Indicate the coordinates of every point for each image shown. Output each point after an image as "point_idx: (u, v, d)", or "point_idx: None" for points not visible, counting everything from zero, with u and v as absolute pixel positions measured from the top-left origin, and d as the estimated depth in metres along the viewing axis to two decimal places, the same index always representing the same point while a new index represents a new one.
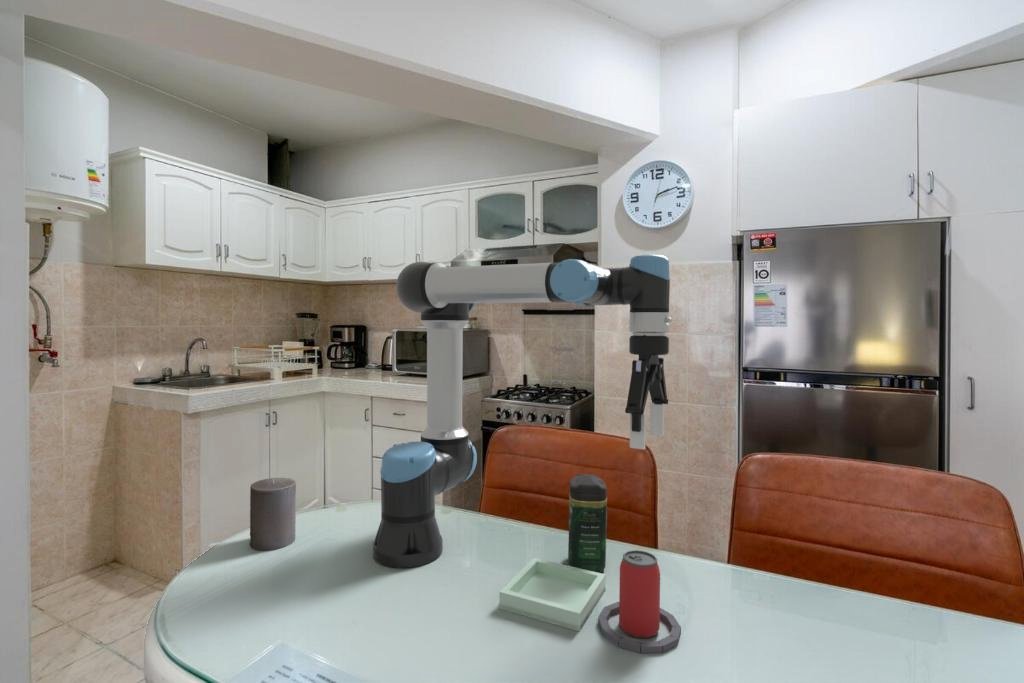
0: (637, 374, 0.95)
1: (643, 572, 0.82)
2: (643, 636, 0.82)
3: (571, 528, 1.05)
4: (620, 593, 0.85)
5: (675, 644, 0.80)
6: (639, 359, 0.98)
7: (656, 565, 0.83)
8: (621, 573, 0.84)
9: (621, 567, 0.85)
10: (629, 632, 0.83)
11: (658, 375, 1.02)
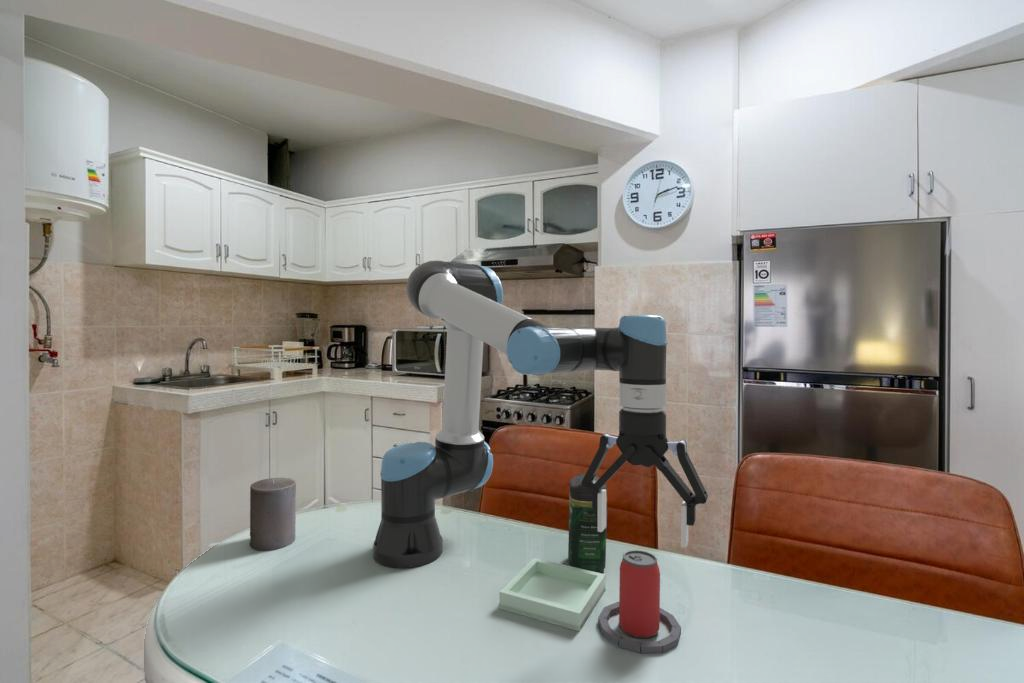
0: None
1: (643, 572, 0.82)
2: (643, 636, 0.82)
3: (571, 528, 1.05)
4: (620, 593, 0.85)
5: (675, 644, 0.80)
6: None
7: (656, 565, 0.83)
8: (621, 573, 0.84)
9: (621, 567, 0.85)
10: (629, 632, 0.83)
11: None
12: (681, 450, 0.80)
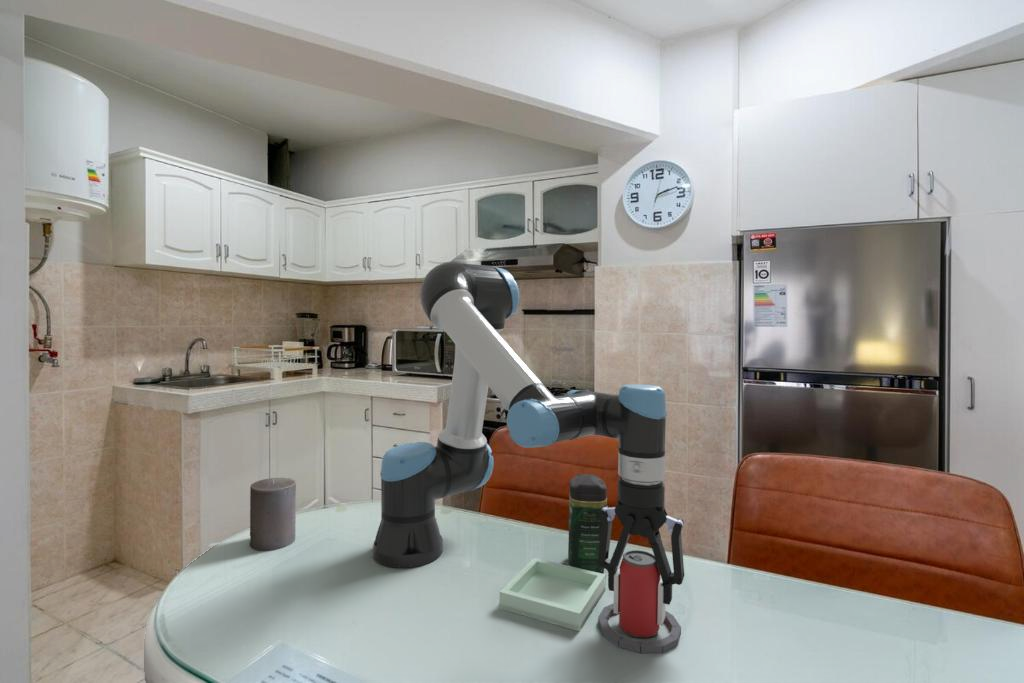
0: None
1: (643, 572, 0.82)
2: (643, 636, 0.82)
3: (571, 528, 1.05)
4: (620, 593, 0.85)
5: (675, 644, 0.80)
6: None
7: (656, 565, 0.83)
8: (621, 573, 0.84)
9: (621, 567, 0.85)
10: (629, 632, 0.83)
11: None
12: (677, 530, 0.81)
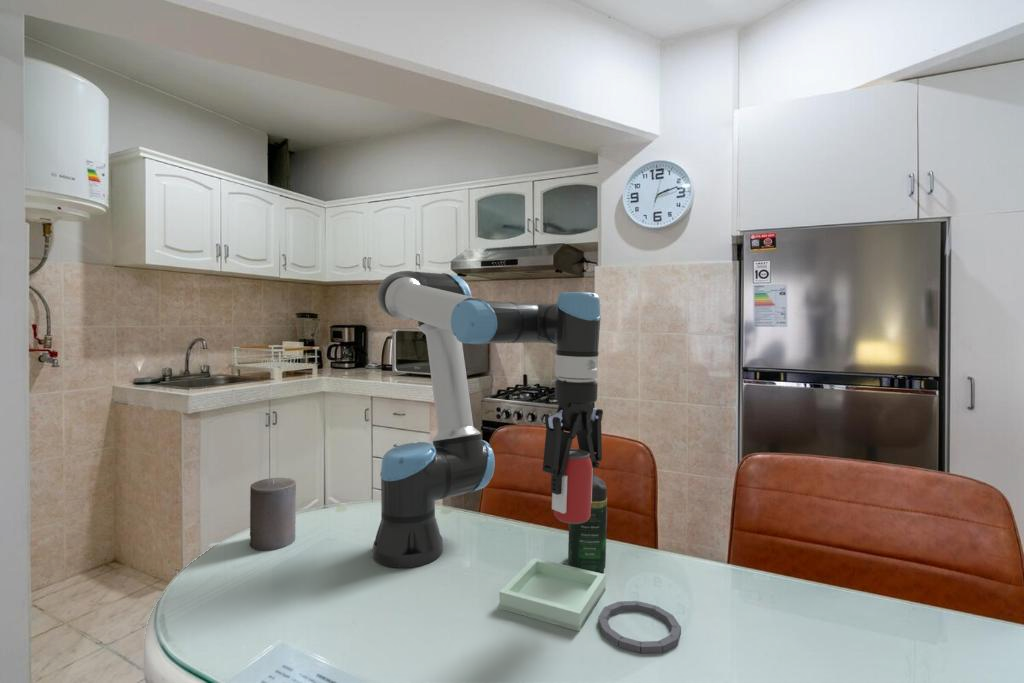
0: (551, 432, 0.87)
1: (590, 460, 0.90)
2: (589, 517, 0.91)
3: (571, 528, 1.05)
4: (571, 491, 0.89)
5: (675, 644, 0.80)
6: (557, 409, 0.89)
7: None
8: (573, 471, 0.88)
9: (571, 466, 0.89)
10: (583, 520, 0.89)
11: (585, 425, 0.91)
12: (600, 416, 0.95)
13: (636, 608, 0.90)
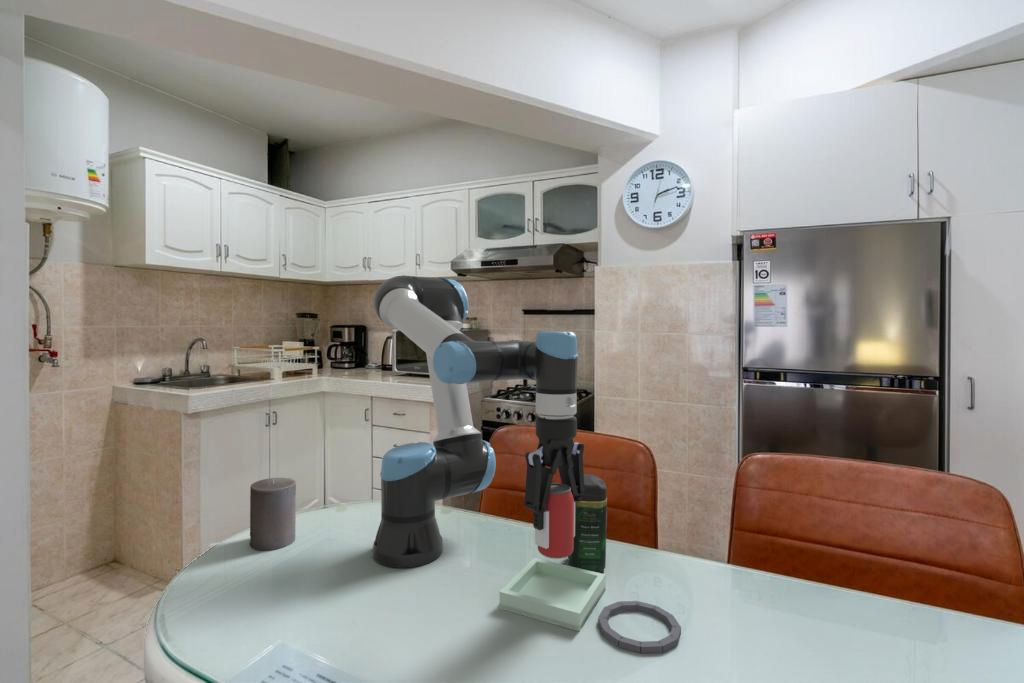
0: (531, 469, 0.89)
1: (571, 495, 0.92)
2: (572, 551, 0.93)
3: None
4: (552, 526, 0.90)
5: (675, 644, 0.80)
6: None
7: None
8: (554, 506, 0.90)
9: (552, 502, 0.90)
10: (565, 555, 0.91)
11: (566, 460, 0.93)
12: (582, 450, 0.97)
13: (636, 608, 0.90)
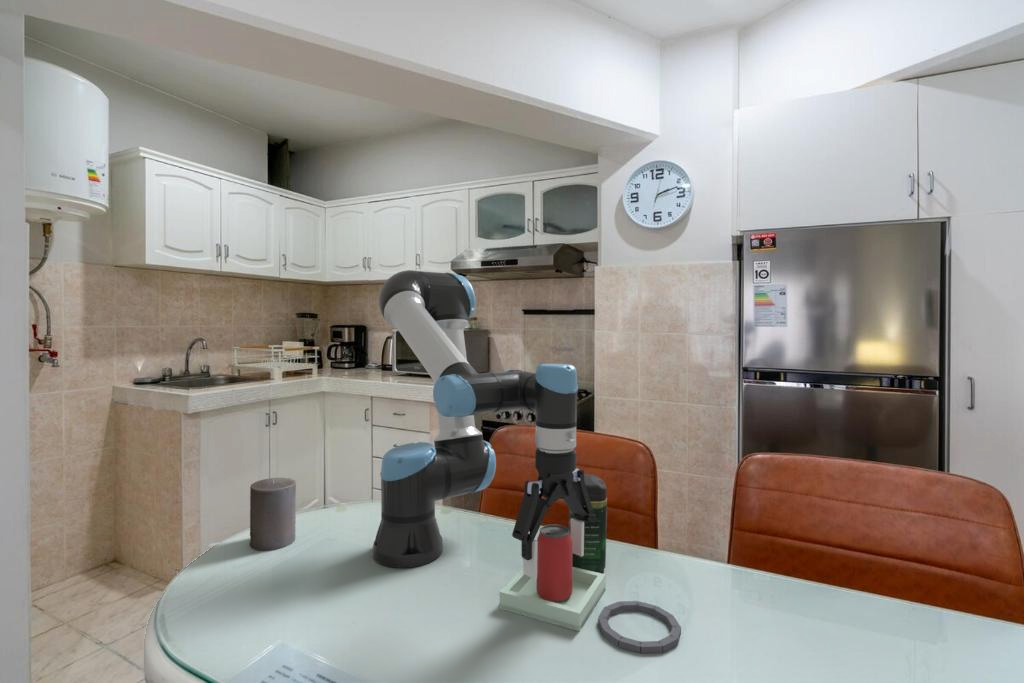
0: (527, 497, 0.89)
1: (570, 538, 0.93)
2: (571, 594, 0.93)
3: None
4: (551, 570, 0.91)
5: (675, 644, 0.80)
6: (538, 477, 0.91)
7: None
8: (553, 550, 0.91)
9: (551, 546, 0.91)
10: (564, 598, 0.91)
11: (568, 492, 0.94)
12: (582, 476, 0.97)
13: (636, 608, 0.90)
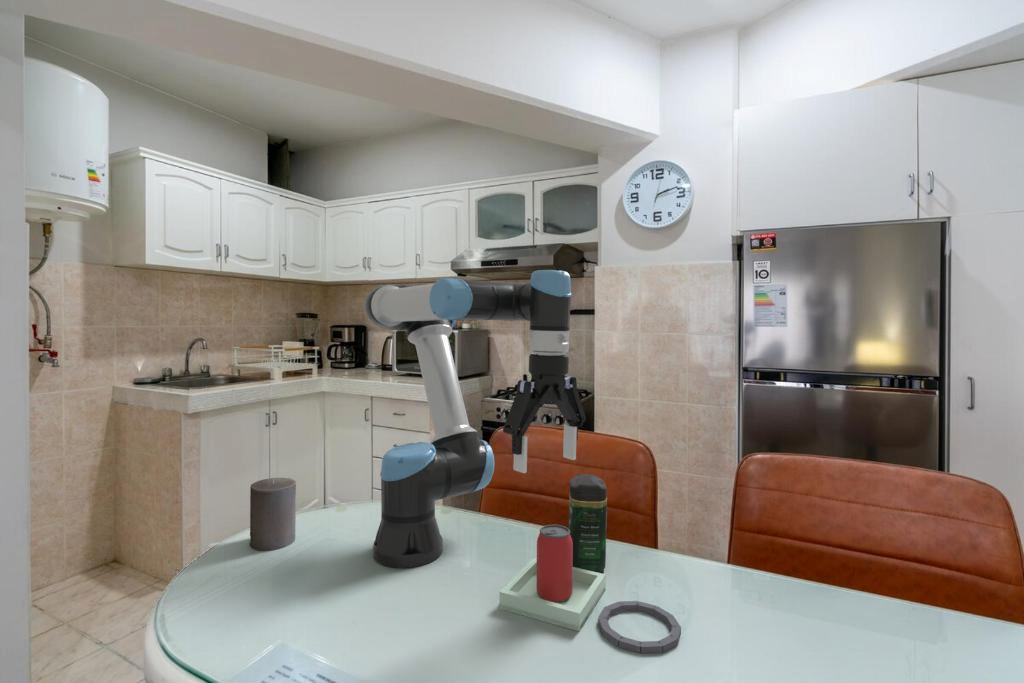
0: (520, 395, 0.91)
1: (570, 538, 0.93)
2: (571, 594, 0.93)
3: (571, 528, 1.05)
4: (551, 570, 0.91)
5: (675, 644, 0.80)
6: (531, 379, 0.94)
7: None
8: (553, 551, 0.91)
9: (551, 546, 0.91)
10: (564, 598, 0.91)
11: (560, 396, 0.97)
12: (574, 383, 1.00)
13: (636, 608, 0.90)
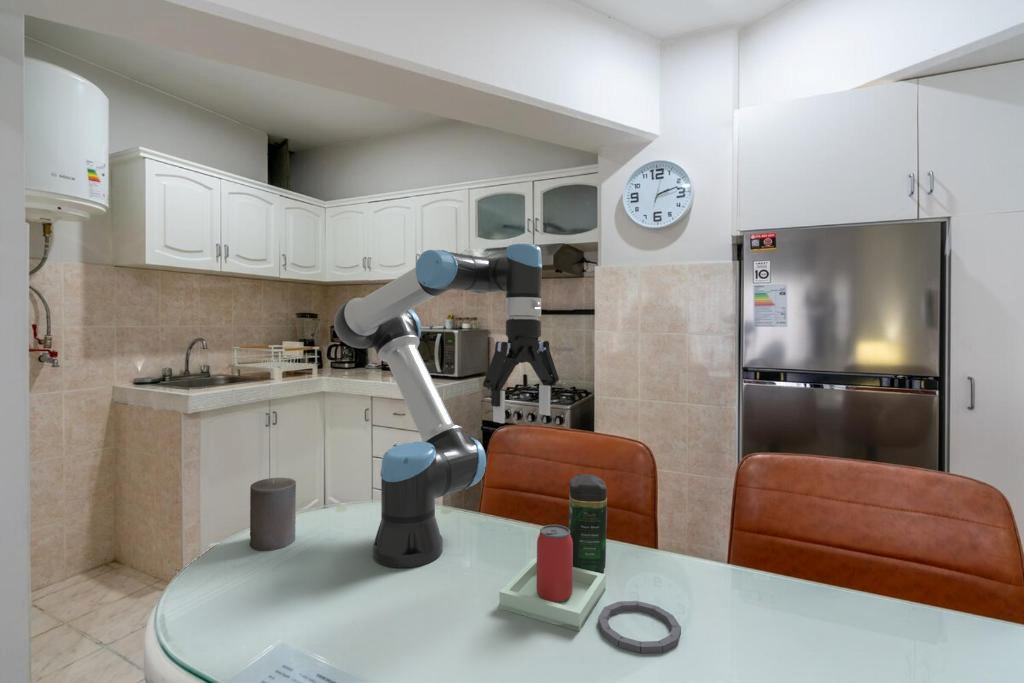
0: (497, 354, 1.03)
1: (570, 538, 0.93)
2: (571, 594, 0.93)
3: (571, 528, 1.05)
4: (551, 570, 0.91)
5: (675, 644, 0.80)
6: (508, 341, 1.06)
7: None
8: (553, 551, 0.91)
9: (551, 546, 0.91)
10: (564, 598, 0.91)
11: (534, 357, 1.08)
12: (547, 346, 1.11)
13: (636, 608, 0.90)
